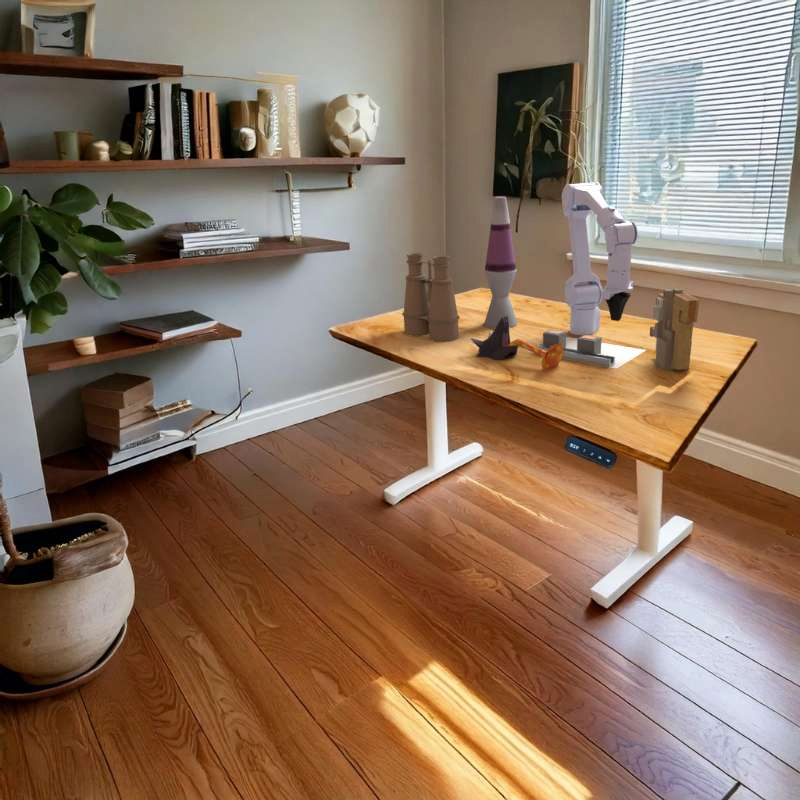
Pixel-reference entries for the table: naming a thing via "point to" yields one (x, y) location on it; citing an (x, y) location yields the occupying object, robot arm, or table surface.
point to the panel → (610, 351)
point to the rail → (584, 356)
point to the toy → (674, 328)
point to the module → (589, 344)
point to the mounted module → (554, 337)
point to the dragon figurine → (515, 346)
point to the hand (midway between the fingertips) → (615, 320)
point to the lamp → (500, 265)
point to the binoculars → (430, 300)
